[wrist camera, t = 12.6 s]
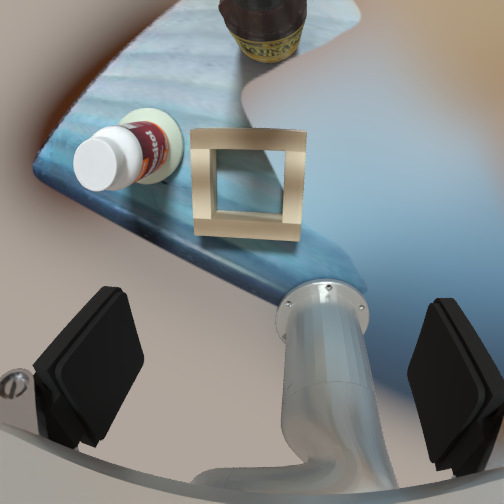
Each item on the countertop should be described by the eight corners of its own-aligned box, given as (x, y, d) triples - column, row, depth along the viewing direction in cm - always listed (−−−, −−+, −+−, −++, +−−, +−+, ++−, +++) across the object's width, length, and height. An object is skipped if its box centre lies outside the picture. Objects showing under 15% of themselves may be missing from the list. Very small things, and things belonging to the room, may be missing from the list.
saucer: (185, 182, 36) (182, 184, 35) (118, 182, 37) (114, 184, 36) (183, 105, 32) (180, 105, 31) (114, 111, 33) (109, 112, 32)
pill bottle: (170, 174, 35) (125, 204, 25) (123, 171, 35) (69, 198, 25) (173, 120, 32) (124, 129, 22) (124, 120, 32) (65, 131, 22)
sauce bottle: (248, 71, 30) (192, 29, 12) (234, 21, 27) (168, -60, 9) (309, 58, 28) (330, -2, 11) (293, 7, 26) (293, -91, 8)
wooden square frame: (299, 231, 37) (299, 241, 34) (201, 225, 38) (194, 235, 35) (305, 130, 32) (306, 132, 29) (198, 127, 33) (190, 130, 30)
